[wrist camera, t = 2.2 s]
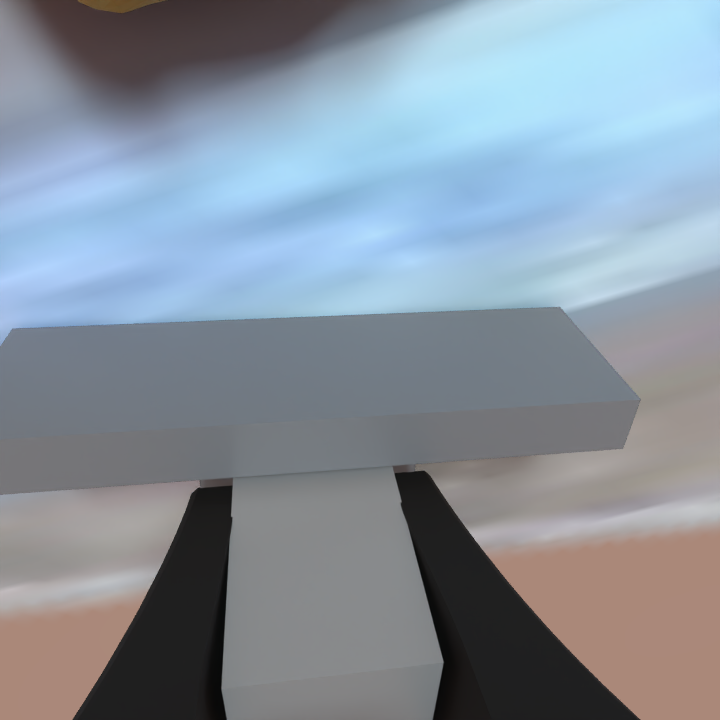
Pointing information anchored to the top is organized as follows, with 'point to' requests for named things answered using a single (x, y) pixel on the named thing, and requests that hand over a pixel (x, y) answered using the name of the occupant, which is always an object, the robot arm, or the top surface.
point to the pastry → (118, 4)
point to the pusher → (308, 466)
